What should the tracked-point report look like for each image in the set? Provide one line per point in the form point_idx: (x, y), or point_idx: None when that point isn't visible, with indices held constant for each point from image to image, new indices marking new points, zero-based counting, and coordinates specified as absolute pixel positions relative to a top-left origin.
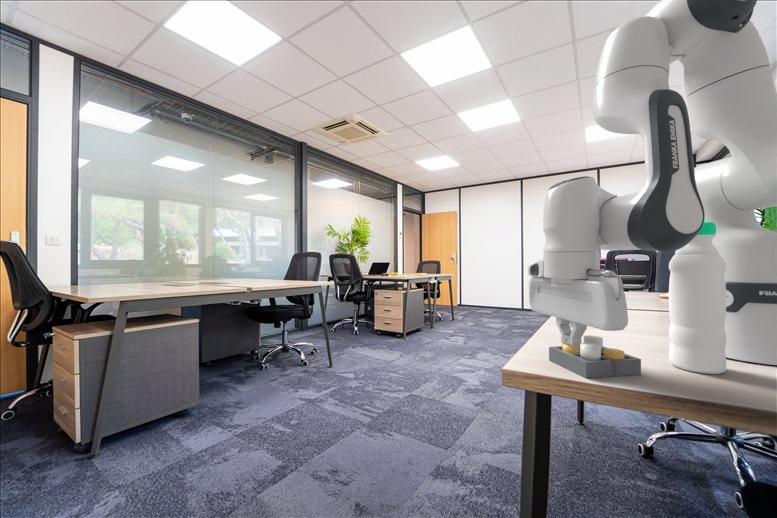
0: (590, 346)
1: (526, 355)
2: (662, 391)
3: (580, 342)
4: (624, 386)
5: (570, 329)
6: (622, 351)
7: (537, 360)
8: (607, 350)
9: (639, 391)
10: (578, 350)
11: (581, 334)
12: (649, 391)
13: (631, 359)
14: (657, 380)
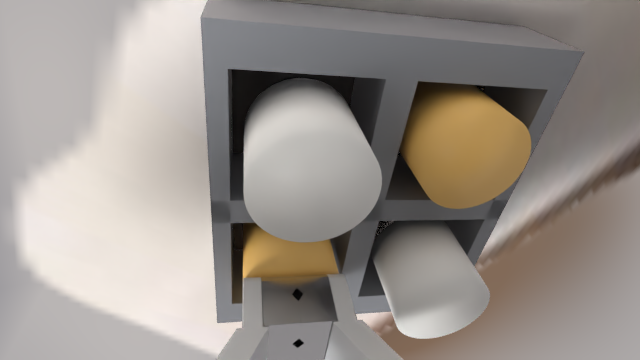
0: (456, 319)
1: (137, 309)
2: (628, 124)
3: (346, 290)
4: (530, 202)
5: (252, 354)
6: (515, 129)
7: (214, 301)
8: (455, 194)
9: (574, 192)
10: (336, 264)
11: (373, 341)
12: (596, 164)
13: (548, 112)
14: (596, 25)
